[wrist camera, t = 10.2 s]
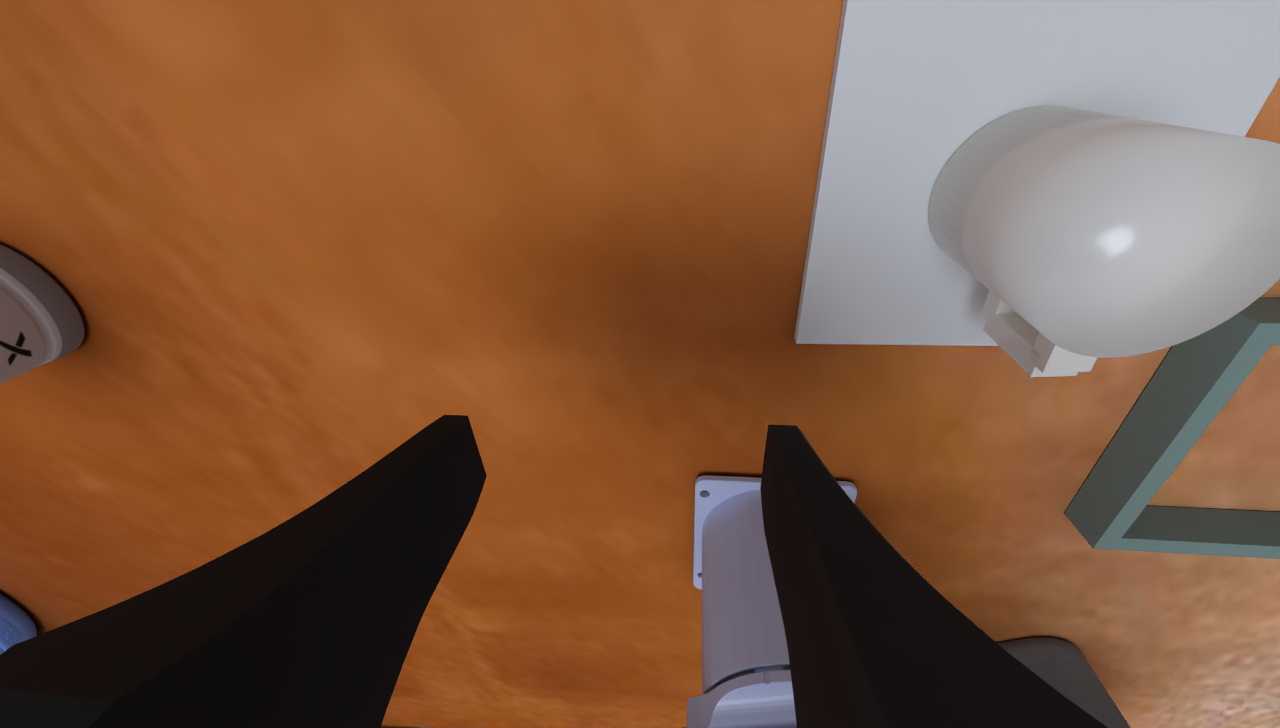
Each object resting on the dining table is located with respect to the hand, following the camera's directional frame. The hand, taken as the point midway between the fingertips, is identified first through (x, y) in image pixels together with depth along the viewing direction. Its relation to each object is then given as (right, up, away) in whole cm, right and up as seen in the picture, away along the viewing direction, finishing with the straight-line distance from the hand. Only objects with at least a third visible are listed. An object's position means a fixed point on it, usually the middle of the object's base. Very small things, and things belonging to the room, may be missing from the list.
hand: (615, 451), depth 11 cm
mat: (+13, +8, +4) cm, 16 cm away
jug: (+13, +8, +4) cm, 15 cm away
